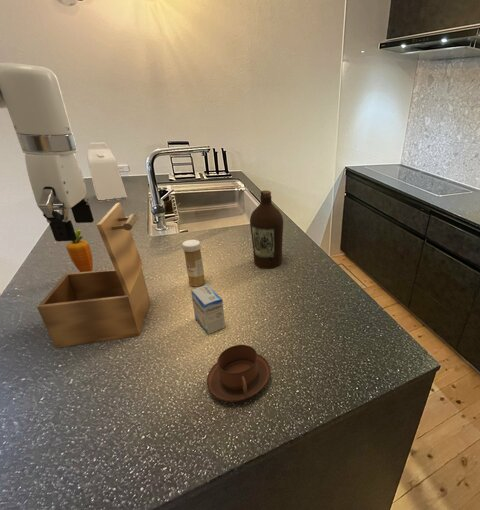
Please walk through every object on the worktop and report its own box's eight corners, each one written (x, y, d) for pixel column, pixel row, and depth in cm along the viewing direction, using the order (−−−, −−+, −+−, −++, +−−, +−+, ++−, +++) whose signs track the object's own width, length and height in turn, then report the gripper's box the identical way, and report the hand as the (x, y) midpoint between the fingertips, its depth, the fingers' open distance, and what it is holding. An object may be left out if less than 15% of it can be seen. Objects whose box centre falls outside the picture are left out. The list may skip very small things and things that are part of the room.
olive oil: (258, 253, 111) (255, 186, 100) (286, 257, 111) (286, 189, 99) (247, 267, 102) (242, 194, 91) (278, 271, 101) (277, 198, 90)
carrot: (73, 279, 88) (55, 231, 81) (89, 271, 93) (74, 225, 86) (87, 282, 87) (70, 234, 81) (103, 274, 92) (88, 228, 85)
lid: (96, 224, 58) (122, 221, 59) (116, 203, 69) (138, 200, 70) (125, 295, 65) (148, 291, 67) (139, 265, 77) (158, 262, 78)
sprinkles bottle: (185, 284, 90) (178, 243, 84) (197, 277, 94) (191, 237, 88) (197, 288, 89) (190, 247, 83) (209, 281, 93) (203, 241, 87)
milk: (123, 192, 162) (111, 141, 151) (127, 198, 155) (114, 144, 143) (95, 195, 155) (80, 141, 143) (98, 201, 147) (81, 144, 136)
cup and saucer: (282, 380, 62) (282, 358, 59) (228, 419, 54) (225, 396, 51) (248, 350, 69) (247, 328, 66) (196, 380, 61) (192, 357, 58)
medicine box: (194, 318, 77) (189, 290, 73) (212, 311, 80) (208, 283, 76) (208, 335, 72) (203, 305, 68) (226, 327, 75) (222, 298, 71)
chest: (55, 348, 65) (36, 307, 61) (79, 310, 77) (65, 273, 72) (139, 335, 70) (128, 296, 66) (150, 301, 82) (141, 266, 77)
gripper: (45, 136, 61) (70, 216, 69) (-8, 150, 47) (31, 250, 54) (90, 138, 64) (110, 216, 71) (53, 152, 49) (83, 247, 57)
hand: (76, 230), depth 63 cm, fingers open, 9 cm apart
